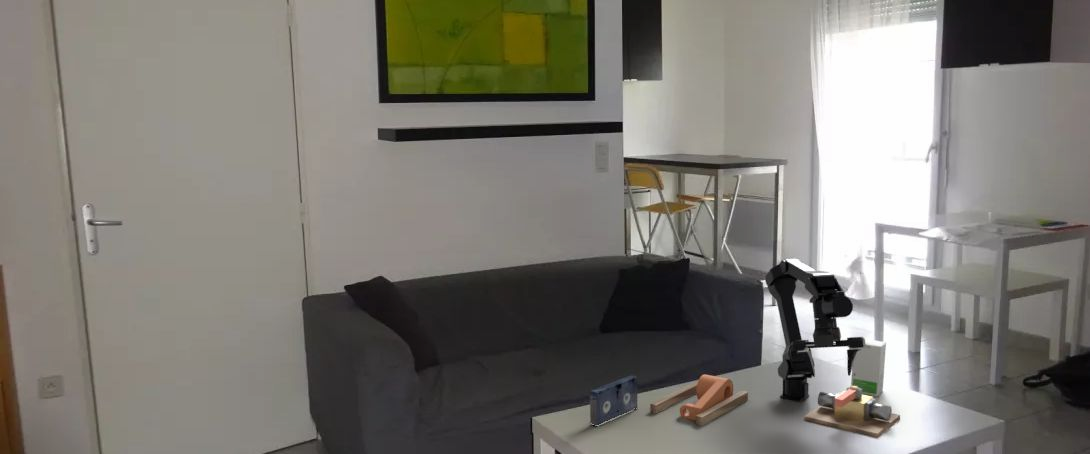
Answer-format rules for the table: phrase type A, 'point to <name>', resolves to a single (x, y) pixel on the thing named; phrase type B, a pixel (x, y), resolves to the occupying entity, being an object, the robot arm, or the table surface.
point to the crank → (708, 395)
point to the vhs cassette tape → (613, 400)
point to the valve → (856, 407)
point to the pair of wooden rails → (705, 415)
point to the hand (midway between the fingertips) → (831, 376)
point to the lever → (848, 396)
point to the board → (851, 422)
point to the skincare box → (869, 368)
